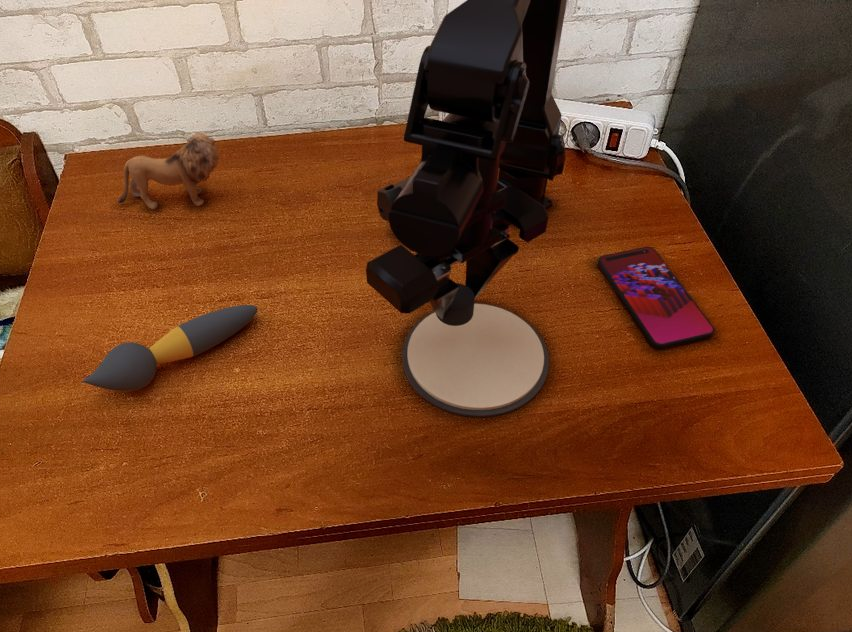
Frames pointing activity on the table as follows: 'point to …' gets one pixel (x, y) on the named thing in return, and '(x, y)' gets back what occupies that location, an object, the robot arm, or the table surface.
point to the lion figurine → (173, 169)
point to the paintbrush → (168, 349)
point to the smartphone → (655, 298)
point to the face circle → (476, 362)
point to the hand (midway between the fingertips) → (455, 306)
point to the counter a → (460, 307)
